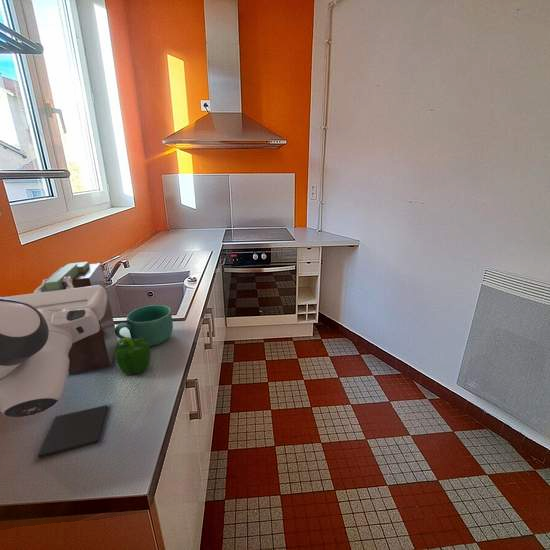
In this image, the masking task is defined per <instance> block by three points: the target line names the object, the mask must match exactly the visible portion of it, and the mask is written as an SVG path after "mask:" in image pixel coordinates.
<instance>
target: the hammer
mask: <svg viewBox="0 0 550 550" xmlns="http://www.w3.org/2000/svg"><path fill="white" fill-rule="evenodd" d="M89 264H90V263H89V261H80V262H79V261H78V262H71V263H66V264H65V265H64V266H62V267H63V268H62V269H61V270H60V271H59V272H57V273H56V274H55V275H54V276H52V277H51V278H50V279H49V280H48V281H46V282H45V287H46V290H47V292H48V291H56V290H62V289H63V288H64V284H62V280H63V279H62V278H63V277H69V276H70V277H71V278H72V279H73V278H74V277H75V276H76V275H77V274H78V273H82V272H85V271H86V270H87V269H88V268H89V267H90V266H89Z"/></svg>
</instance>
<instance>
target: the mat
mask: <svg viewBox="0 0 550 550" xmlns="http://www.w3.org/2000/svg"><path fill="white" fill-rule="evenodd" d="M107 410H108V405H107V404H106V405H101V406H96V407H93V408H89V409H84V410H79V411H75V412H71V413H67V414H62V415H58V416H55V418H54V419H53V422H52V425H51V427H50V429H49V431H48V433H47V435H46V437H45V439H44V442H43V444H42V446H41V448H40V451H39V452H38V455H37V457H38V458H43V457H47V456H50V455H54V454H58V453H62V452H67V451H69V450H73V449H77V448H81V447H85V446H89V445H92V444H96V443H99V441H100V438H101V434H102V429H103V426H104V421H105V418H106V414H107Z"/></svg>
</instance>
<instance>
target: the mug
mask: <svg viewBox="0 0 550 550" xmlns="http://www.w3.org/2000/svg"><path fill="white" fill-rule="evenodd" d="M173 324H174V323H173V316H172V310H171V308H170V307H169V306H168V305H164V304H163V305H162V304H151V305H145V306H142V307H138V308H135V309H134V310H132V311H130V312H129V313H128V314H127V315H126V322H120V323H119V324H117V325H116V326H115V334H116V336H117V338H118V339H119V340H120V339H122V338H128V339H137V338H140V337H142V338H143V339H144V340H145V341H146V342H147V343H148V344H149V347H151V346H157V345H159V344H161V343H163V342H165V341H166V340H167V339H169V338H170V337H171V335H172V333H173V330H174V325H173ZM123 328H126V329H127V330H128V331H129V335H130V337H128V336H124V335H122V334H121V333H120V331H121V330H122V329H123Z"/></svg>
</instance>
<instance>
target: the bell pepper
mask: <svg viewBox="0 0 550 550" xmlns="http://www.w3.org/2000/svg"><path fill="white" fill-rule="evenodd" d="M128 338H129V337H128ZM128 338H122V339H120V338H119V339H118V343H120V344H117V346H116V348H115V353H114V359H115V362H116V364H117V366H118V368H119V369H120V370H121V372H122V373H124V374H125V375H132V374H136V375H137V374H141V373H143V372H145V371H146V370H147V369H148V367H149V365H150V358H151V346H149V344H148V343H147V342H146V341H145V340H144V339H143V338H142V337H140V338H137V339H128Z"/></svg>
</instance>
